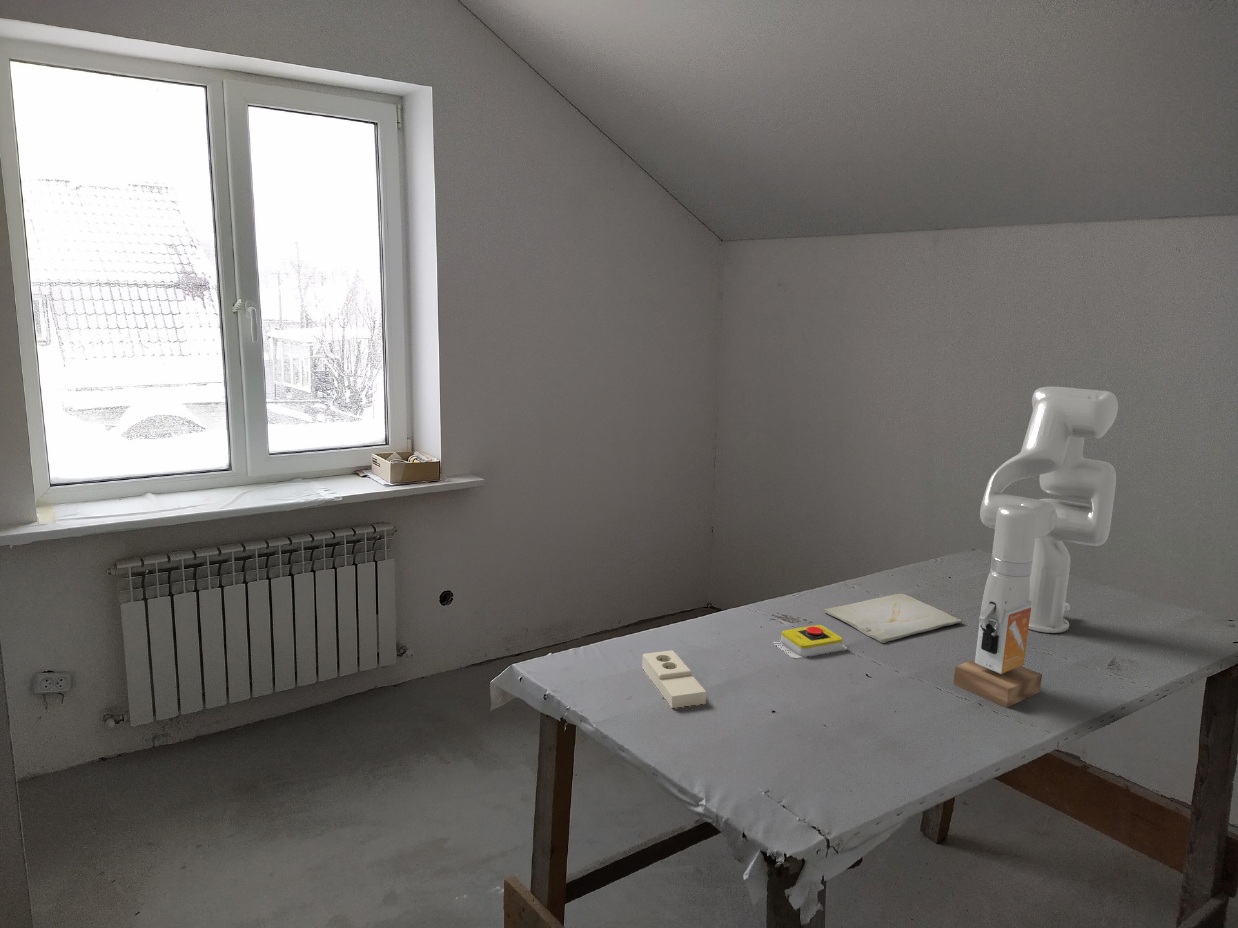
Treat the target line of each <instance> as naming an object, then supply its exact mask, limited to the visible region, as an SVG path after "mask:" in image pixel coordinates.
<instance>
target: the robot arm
mask: <svg viewBox="0 0 1238 928" xmlns="http://www.w3.org/2000/svg"><path fill="white" fill-rule="evenodd" d="M1031 405H1032V412H1031V415H1030V416H1031V417H1030V420H1029V422H1028V426H1027V429H1026V433H1025V437H1024V439H1023V443H1022V446H1021V450H1020V452H1019V453H1018V454H1016V455H1015V456H1013V457H1011V458H1010V459H1008V460H1006V461H1005V462H1004V463H1002V464H1001V465H1000V466H999V467H998V468H997V469H995V471H994V472H993V473H992V474H991V476H990V478H989V479H988V482H987V485H986V488H985V491H984V493H983V494H984V495H983V498H982V500H981V505H980V510H979V516H980V517H979V518H980V521H981V523H982V524H983V525H984V526H985V527H987V528H990V529H994V534H993V543H992V545H993V546H992V553H991V561H990V570H989V573H988V575H987V580H986V583H985V586H984V592H983V595H982V602H981V608H980V614H981V615H980V616H979V617H978V621H979V623H980V626H981V628H982V632H983V636H982V645H981V649H982V650H985V651H987V652H990V653H992V654H996V653H997V648H998V640H999V636H998V635H997V633H998V631H999V627H1000V624H1002V623H1003V621H1004V617H1005V613H1008V612H1011V611H1014V610H1017V609H1020V608H1022V607H1025V606H1030V607H1031V614H1030V622H1029V629H1028V630H1030V631H1034V632H1040V633H1046V634H1050V633H1051V634H1060V633H1065V632H1066V631H1068V630H1069V628H1070V623H1069V620H1067V619H1066V618H1065V617H1064V614H1065V612H1067V611H1069V610H1070V609H1071V605H1070V604H1069V603H1068V602H1066V598H1067V590H1068V584H1069V576H1070V569H1071V554H1070V553H1069V550H1068V548H1067V546H1066V545H1065V544H1064V542H1069V543H1075V544H1080V545H1087V546H1093V547H1098V546H1102V545H1103V544H1105V543H1106V542H1107V541H1108V538H1109V535H1110V531H1111V524H1112V518H1113V517H1112V516H1113V509H1114V501H1115V494H1116V488H1117V487H1116V486H1117V474H1116V469H1115V467H1114V466H1113V465H1112V464H1111V463H1110V462H1108V461H1104V460H1099V459H1092V458H1091V459H1090V458H1085V457H1084V455H1083V453H1084V445H1085V439H1090V440H1097V439H1101V438H1103V436H1105V434H1106V433H1108V431H1109V429H1111V427H1112V426H1113V424H1114V422H1115V420H1116V419H1117V414H1118V410H1119V402H1118V399H1117V396H1116V395H1115V393H1113V392H1111V391H1108V390H1101V389H1100V390H1099V389H1088V388H1086V389H1085V388H1075V387H1067V386H1066V387H1065V386H1043V387H1042V386H1041V387H1038V388H1036V389H1035V390H1034V392H1033V394H1032V398H1031ZM1036 476H1039V487H1040V489H1041V490H1042V491H1043V492H1045V493H1047V494H1050V495H1055V496H1061V497H1066V498H1067V497H1068V498H1074V499H1079V500H1085V501H1088V502H1089V504H1087V503H1081V502H1075V501H1071V500H1064V499H1056V498H1040V499H1035V498H1029V497H1024V496H1017V495H1010V494H1007V493H1006V494H1005V493H1003V492H1004V490H1006V488H1007V487H1009V486H1010V485H1011V484H1013V483H1015V482H1018V481H1021V480H1023V479H1028V478H1033V477H1036ZM995 611H996V612H995ZM994 612H995V613H996V616H997V618H998V620H996V619H993V618H990V617H991V616H992V615H993V614H994ZM990 621H991V622H994V623H996V624H995V626H994V629H993V627H992V626H991V624H989V623H990Z"/></svg>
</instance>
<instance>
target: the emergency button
mask: <svg viewBox="0 0 1238 928" xmlns="http://www.w3.org/2000/svg"><path fill="white" fill-rule="evenodd" d="M780 636H781V637H780V640H779V641H780V642H775V641H773V642H772V644H773V643H781V644H774V645H773V646H775V645H777V647H778V649H779V648H780V649H781V650H780V649H779V650H780V651H782V650H784V652H785V653H784V652H783V653H784V654H786V655H787V654H788V655H789V656H788V655H787V656H788V657H790V658H791V659H794V658H798V659H803V658H808V657H807V656H809V657H814V656H818V655H819V654H820V655H824V654H825V653H826V654H831V653H835V652H836V653H837V652H842V651H846V650H847V651H848V647H847V646H846V645H844V644H843V638H842V637H841V636H840V635H838V634H836V633H835V632H834V631H832V630H831V629H829V628H827V627H825V626H824V625H823V624H815V625H811V626H804V627H797V628H791V629H786V630H785V629H784V630H781V635H780ZM778 645H779V646H778ZM780 645H781V646H780ZM782 645H785V646H782ZM777 647H776V648H777ZM781 647H782V648H781ZM786 647H787V648H786ZM785 650H786V651H785ZM787 650H791V651H787ZM786 652H787V653H786ZM788 652H789V653H788ZM790 652H791V653H790ZM830 652H831V653H830ZM826 654H825V655H826ZM820 655H819V656H820Z"/></svg>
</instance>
